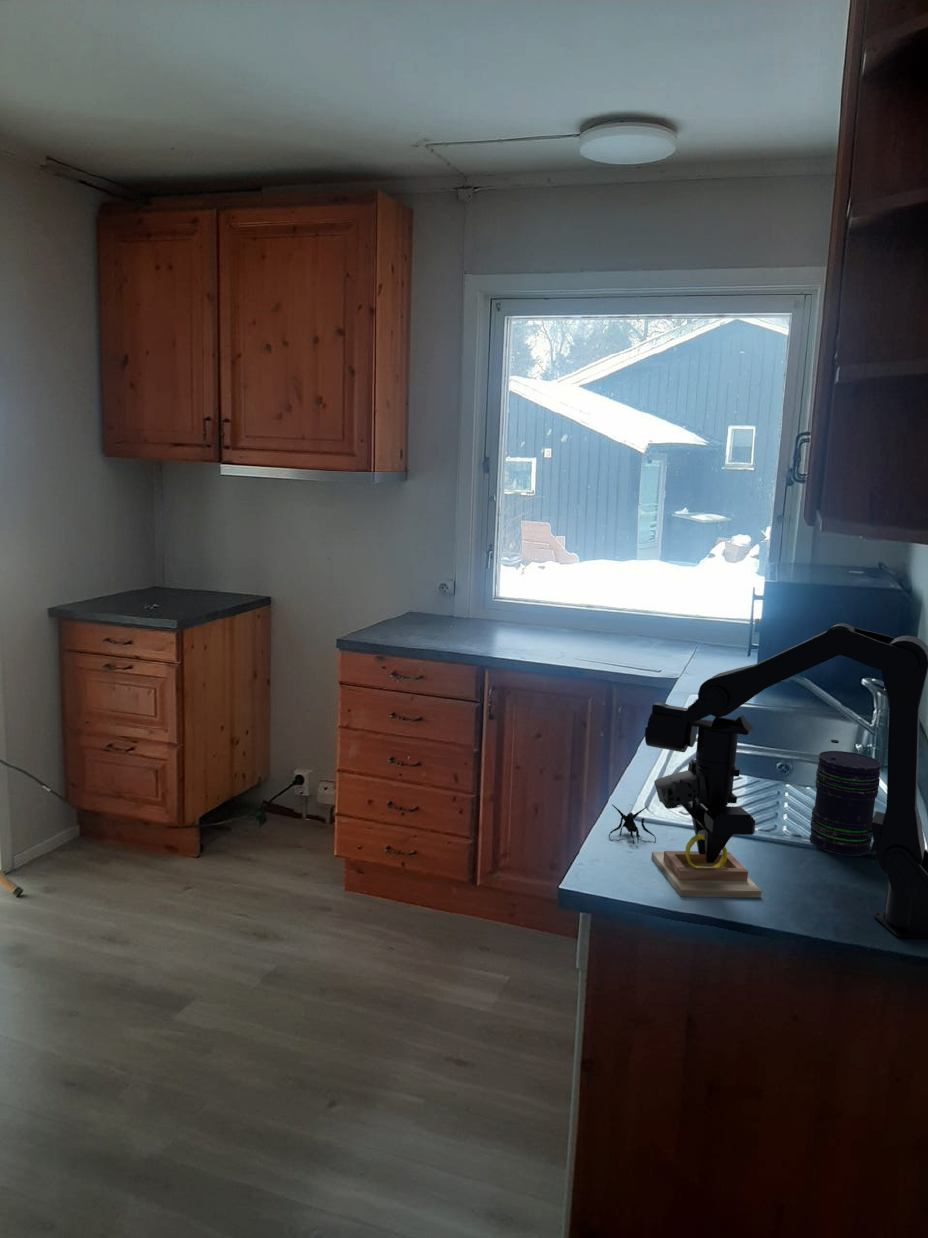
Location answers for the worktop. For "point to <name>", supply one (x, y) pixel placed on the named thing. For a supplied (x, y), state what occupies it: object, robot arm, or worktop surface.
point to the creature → (630, 825)
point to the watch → (702, 836)
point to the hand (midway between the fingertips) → (706, 858)
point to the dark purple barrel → (844, 802)
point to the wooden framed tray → (705, 875)
